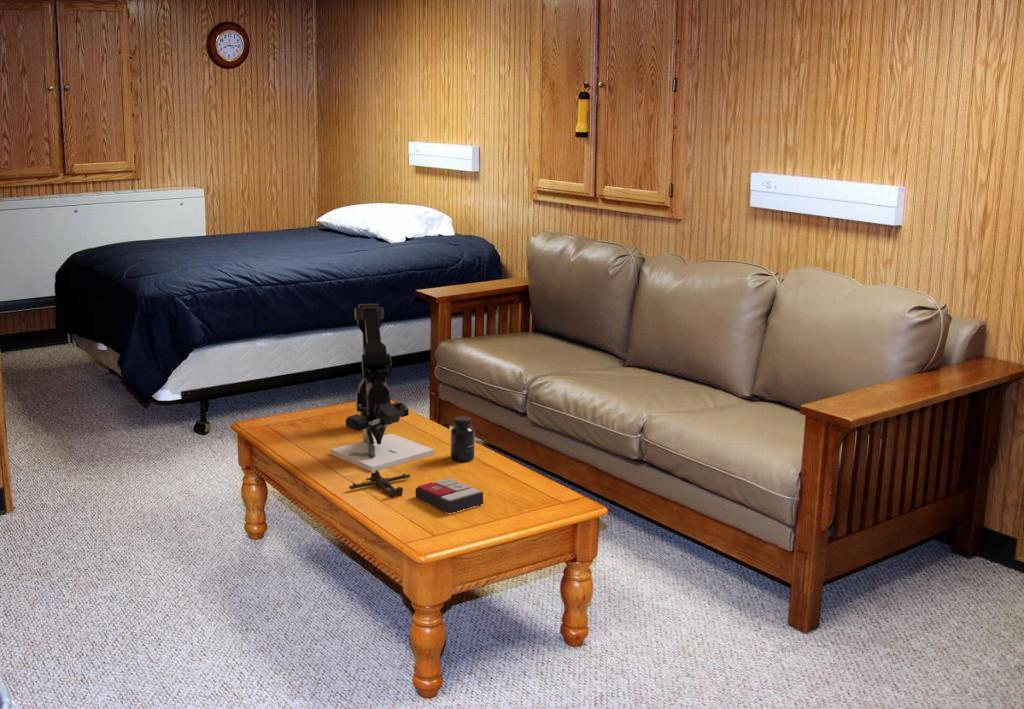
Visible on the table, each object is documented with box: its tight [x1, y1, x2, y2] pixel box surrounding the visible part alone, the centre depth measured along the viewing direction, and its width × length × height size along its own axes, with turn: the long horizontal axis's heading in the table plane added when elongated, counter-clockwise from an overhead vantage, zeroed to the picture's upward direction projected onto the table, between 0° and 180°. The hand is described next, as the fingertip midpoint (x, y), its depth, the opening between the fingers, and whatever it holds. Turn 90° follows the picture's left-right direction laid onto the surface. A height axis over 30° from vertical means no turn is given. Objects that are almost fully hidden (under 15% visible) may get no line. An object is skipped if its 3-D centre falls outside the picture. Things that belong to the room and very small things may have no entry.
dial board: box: [330, 433, 435, 473], centre depth 312 cm, size 20×22×2 cm
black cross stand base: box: [348, 470, 411, 499], centre depth 286 cm, size 18×4×14 cm
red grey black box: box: [415, 477, 484, 514], centre depth 278 cm, size 11×4×15 cm
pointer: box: [362, 427, 375, 457], centre depth 311 cm, size 16×3×4 cm, turn 11°
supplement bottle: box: [450, 416, 476, 463], centre depth 308 cm, size 7×7×12 cm
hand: (378, 444), depth 311 cm, fingers closed
